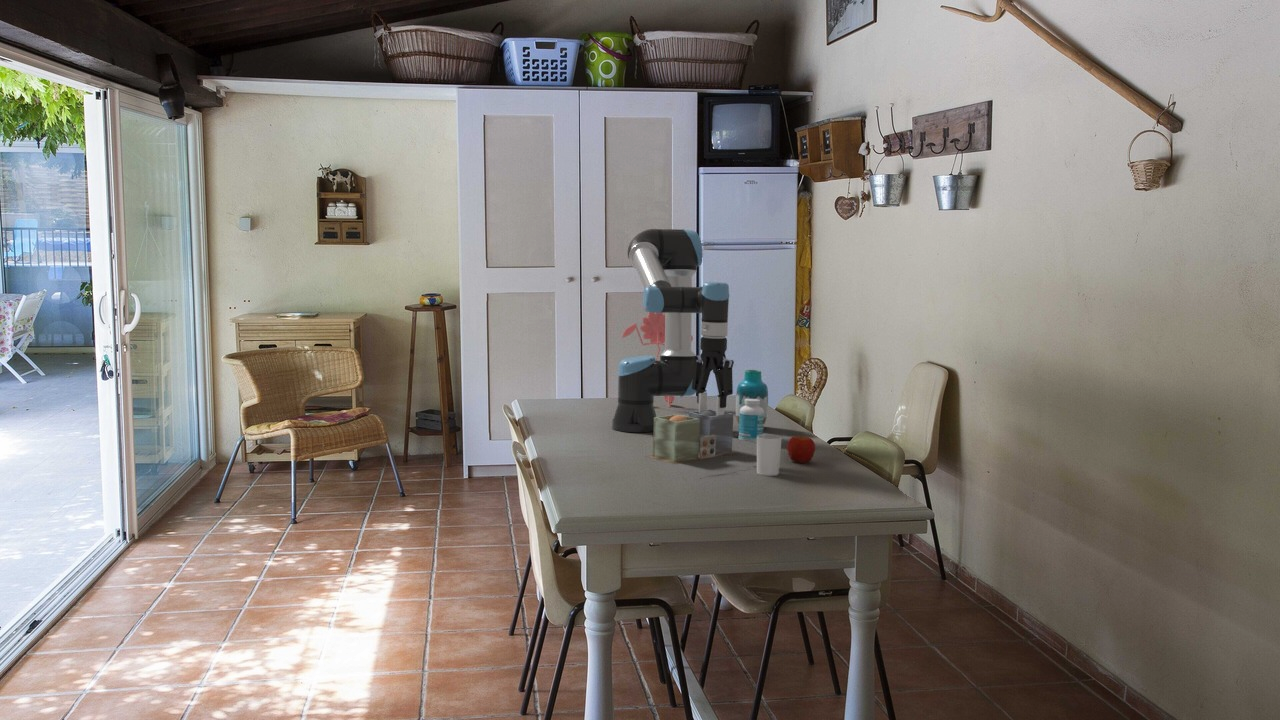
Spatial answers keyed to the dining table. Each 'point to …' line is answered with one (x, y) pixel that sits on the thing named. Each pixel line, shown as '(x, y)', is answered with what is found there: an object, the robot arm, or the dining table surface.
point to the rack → (692, 437)
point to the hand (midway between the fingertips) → (711, 416)
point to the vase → (752, 392)
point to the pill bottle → (751, 420)
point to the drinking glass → (768, 454)
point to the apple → (801, 449)
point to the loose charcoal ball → (708, 413)
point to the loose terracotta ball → (678, 418)
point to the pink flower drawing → (652, 334)
